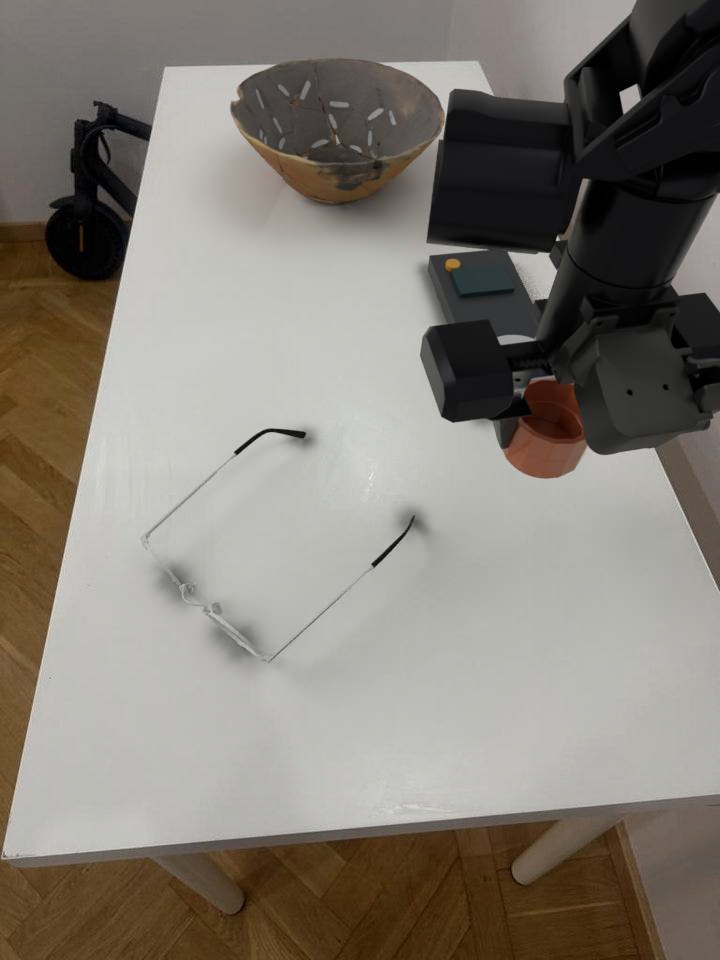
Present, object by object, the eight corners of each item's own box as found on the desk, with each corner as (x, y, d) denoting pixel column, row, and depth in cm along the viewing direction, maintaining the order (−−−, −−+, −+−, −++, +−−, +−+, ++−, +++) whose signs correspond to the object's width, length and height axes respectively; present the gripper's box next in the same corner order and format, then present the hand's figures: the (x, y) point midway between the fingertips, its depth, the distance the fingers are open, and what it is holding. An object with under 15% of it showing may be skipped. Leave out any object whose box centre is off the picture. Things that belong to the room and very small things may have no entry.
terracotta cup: (580, 423, 48) (600, 383, 45) (579, 489, 45) (601, 451, 41) (501, 410, 49) (514, 369, 45) (494, 474, 45) (508, 435, 42)
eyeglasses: (131, 558, 52) (113, 528, 47) (294, 427, 60) (291, 391, 55) (267, 693, 46) (260, 672, 42) (427, 528, 54) (435, 496, 50)
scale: (570, 405, 62) (578, 387, 60) (482, 416, 61) (487, 398, 59) (502, 262, 74) (507, 243, 72) (427, 269, 73) (430, 250, 71)
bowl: (457, 232, 77) (471, 151, 69) (253, 255, 74) (243, 172, 65) (405, 125, 91) (412, 47, 82) (231, 140, 87) (220, 60, 79)
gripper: (500, 392, 27) (449, 557, 40) (879, 339, 30) (716, 511, 43) (433, 235, 33) (407, 422, 46) (752, 202, 36) (643, 389, 49)
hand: (543, 437), depth 46 cm, fingers closed on terracotta cup, 6 cm apart
